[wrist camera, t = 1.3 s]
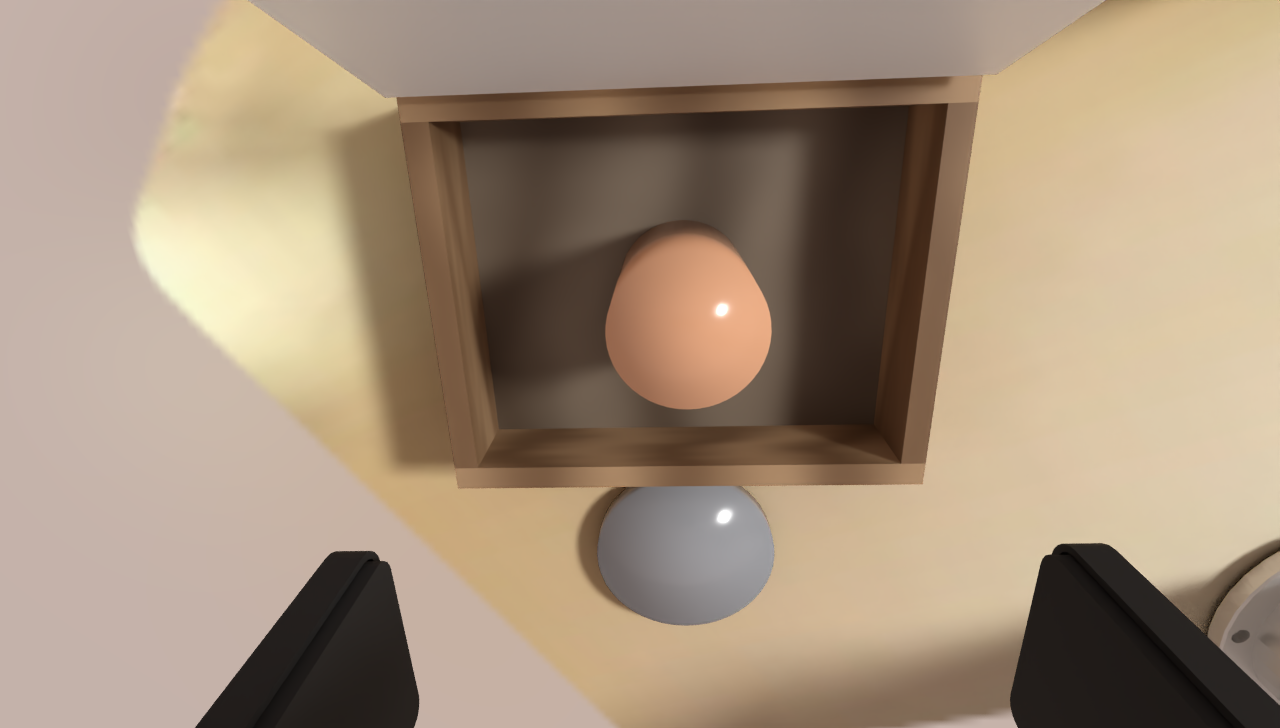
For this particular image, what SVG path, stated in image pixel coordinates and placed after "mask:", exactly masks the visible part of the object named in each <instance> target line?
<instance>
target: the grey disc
mask: <svg viewBox="0 0 1280 728" xmlns="http://www.w3.org/2000/svg"><path fill="white" fill-rule="evenodd" d="M597 557H598V564H599V568H600V571H601V574H602V577H603V579H604V581H605V583H606V585H607V586H608V588H609V589H610V591H611V592H612V593H613V594H614V595H615V596H616V598H617V599H618V600H619V601H621V602H622V603H623V604H624V605H625V606H627V607H628V608H629V609H631V610H632V611H634V612H636V613H638V614H640V615H642V616H643V617H646V618H649V619H651V620H654V621H658V622H661V623H666V624H672V625H700V624H706V623H711V622H714V621H718V620H721V619H723V618H726V617H728V616H730V615H732V614H734V613H736V612H738V611H740V610H741V609H742V608H744V607H745V606H747V605H748V604H749V603H750V602H751V601H752V600H754V599H755V597H756V596H757V595H758V594H759V593H760V592H761V590H762V589H763V587H764V586H765V584H766V583H767V580H768V578H769V576H770V574H771V570H772V567H773V561H774V544H773V539H772V534H771V530H770V527H769V523H768V520H767V518H766V515H765V513H764V511H763V510H762V508H761V506H760V505H759V504H758V502H757V501H756V500H755V498H754V497H753V496H752V495H751V494H750V493H749V492H748V491H746V490H745V489H744V488H742V487H741V486H666V487H628V488H626V489H625V490H624V491H623V492H621V493H620V495H619V496H618V497H617V498H616V499H615V500H614V501H613V503H612V504H611V505H610V507H609V508H608V510H607V512H606V514H605V516H604V518H603V521H602V524H601V529H600V535H599V541H598V553H597Z"/></svg>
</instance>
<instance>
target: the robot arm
mask: <svg viewBox="0 0 1280 728" xmlns="http://www.w3.org/2000/svg"><path fill="white" fill-rule="evenodd" d="M1010 704H1011V710H1012V714H1013V717H1014V720H1015V722H1016V725H1017V727H1018V728H1280V551H1278V552H1277V553H1275V554H1273V555H1271V556H1270V557H1268V558H1266V559H1265V560H1263V561H1262V562H1261V563H1260V564H1258V565H1257V566H1256V567H1254V568H1253V569H1252V570H1251V571H1249V572H1248V573H1247V574H1245V575H1244V576H1243V577H1242V578H1241V580H1240V581H1239V582H1238V583H1237V584H1236V585H1235V586H1234V587H1233V588H1232V589H1231V590H1230V591H1229V592H1228V594H1227V595H1226V597H1225V598H1224V599H1223V601H1222V602H1221V604H1220V605H1219V607H1218V608H1217V610H1216V612H1215V615H1214V617H1213V619H1212V622H1211V624H1210V626H1209V630H1208V636H1206V635H1205V634H1204V633H1203V632H1202V631H1201V630H1200V629H1199V628H1198V627H1197V626H1196V625H1194V624H1193V623H1192V622H1191V621H1190V620H1189V619H1188V618H1187V617H1186V616H1185V615H1184V614H1183V613H1182V612H1181V611H1180V610H1179V609H1178V608H1177V607H1175V606H1174V605H1173V604H1172V603H1171V602H1170V601H1169V600H1168V599H1167V598H1166V597H1165V596H1164V595H1163V594H1162V593H1161V592H1160V591H1159V590H1158V589H1156V588H1155V587H1154V586H1153V585H1152V584H1151V583H1150V582H1149V581H1148V580H1147V579H1146V578H1145V577H1144V576H1143V575H1142V574H1141V573H1140V572H1139V571H1137V570H1136V569H1135V568H1134V567H1133V566H1132V565H1131V564H1130V563H1129V562H1128V561H1127V560H1126V559H1125V558H1124V557H1123V556H1122V555H1121V554H1120V553H1118V552H1117V551H1116V550H1115V549H1114V548H1112V547H1111V546H1110V545H1107V544H1103V543H1093V544H1060V545H1058V546H1057V547H1056V548H1055V549H1054V550H1053V553H1052V555H1046V556H1045V557H1044V558H1043V559H1042V562H1041V565H1040V569H1039V574H1038V578H1037V582H1036V587H1035V591H1034V595H1033V600H1032V604H1031V608H1030V613H1029V617H1028V621H1027V626H1026V630H1025V634H1024V639H1023V643H1022V648H1021V652H1020V656H1019V661H1018V665H1017V669H1016V674H1015V678H1014V682H1013V687H1012V691H1011V697H1010ZM418 710H419V694H418V690H417V685H416V681H415V677H414V672H413V667H412V663H411V658H410V654H409V649H408V644H407V640H406V635H405V631H404V627H403V622H402V617H401V613H400V609H399V604H398V599H397V595H396V590H395V585H394V581H393V576H392V572H391V568H390V565H389V564H388V563H387V562H385V561H380V560H379V557H378V555H377V554H376V553H375V552H372V551H340V552H338V551H336V552H333V553H331V554H330V555H329V556H328V557H327V558H326V559H325V560H324V562H323V563H322V564H321V565H320V567H319V568H318V569H317V570H316V572H315V573H314V574H313V576H312V577H311V578H310V579H309V581H308V582H307V583H306V585H305V586H304V587H303V589H302V590H301V591H300V592H299V594H298V595H297V596H296V598H295V599H294V600H293V602H292V603H291V604H290V605H289V607H288V608H287V609H286V611H285V612H284V613H283V614H282V616H281V617H280V618H279V620H278V621H277V622H276V623H275V625H274V626H273V627H272V629H271V630H270V631H269V633H268V634H267V635H266V636H265V638H264V639H263V640H262V642H261V643H260V644H259V645H258V647H257V648H256V649H255V651H254V652H253V653H252V655H251V656H250V657H249V658H248V660H247V661H246V662H245V664H244V665H243V666H242V668H241V669H240V670H239V671H238V673H237V674H236V675H235V677H234V678H233V679H232V680H231V682H230V683H229V684H228V686H227V687H226V688H225V690H224V691H223V692H222V693H221V695H220V696H219V697H218V699H217V700H216V701H215V702H214V704H213V705H212V706H211V708H210V709H209V710H208V712H207V713H206V714H205V715H204V717H203V718H202V719H201V721H200V722H199V723H198V724H197V726H196V727H195V728H414V726H415V723H416V720H417V716H418Z"/></svg>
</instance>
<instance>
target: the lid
mask: <svg viewBox="0 0 1280 728" xmlns="http://www.w3.org/2000/svg"><path fill="white" fill-rule="evenodd" d="M248 1H250V2H251V3H252V4H254V5H255V6H257V7H258V8H259V9H261V10H262V11H264V12H265V13H266V14H268V15H269V16H271V17H272V18H274V19H275V20H276V21H278V22H279V23H281V24H282V25H283V26H285V27H286V28H288V29H289V30H290V31H292V32H293V33H295V34H296V35H298V36H299V37H300V38H302V39H303V40H305V41H306V42H307V43H309V44H310V45H312V46H313V47H314V48H316V49H317V50H319V51H320V52H322V53H323V54H324V55H326V56H327V57H329V58H330V59H331V60H333V61H334V62H336V63H337V64H338V65H340V66H341V67H343V68H344V69H345V70H347V71H348V72H350V73H351V74H353V75H354V76H355V77H357V78H358V79H360V80H361V81H362V82H364V83H365V84H367V85H368V86H369V87H371V88H372V89H374V90H375V91H377V92H378V93H379V94H381V95H382V96H384V97H385V98H390V97H417V96H443V95H469V94H496V93H522V92H548V91H575V90H601V89H627V88H654V87H680V86H707V85H733V84H759V83H786V82H812V81H838V80H865V79H891V78H917V77H944V76H970V75H996V74H998V73H999V72H1001V71H1002V70H1004V69H1005V68H1007V67H1008V66H1010V65H1011V64H1013V63H1014V62H1016V61H1017V60H1019V59H1020V58H1021V57H1023V56H1024V55H1026V54H1027V53H1029V52H1030V51H1032V50H1033V49H1035V48H1036V47H1038V46H1039V45H1041V44H1042V43H1044V42H1045V41H1047V40H1048V39H1049V38H1051V37H1052V36H1054V35H1055V34H1057V33H1058V32H1060V31H1061V30H1063V29H1064V28H1066V27H1067V26H1069V25H1070V24H1072V23H1073V22H1074V21H1076V20H1077V19H1079V18H1080V17H1082V16H1083V15H1085V14H1086V13H1088V12H1089V11H1091V10H1092V9H1094V8H1095V7H1097V6H1098V5H1100V4H1101V3H1102V2H1104V1H1105V0H248Z"/></svg>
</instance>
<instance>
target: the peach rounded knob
mask: <svg viewBox="0 0 1280 728" xmlns="http://www.w3.org/2000/svg"><path fill="white" fill-rule="evenodd" d="M771 333H772V330H771V317H770V312H769V308H768V305H767V302H766V300H765V298H764V296H763V294H762V292H761V290H760V288H759V286H758V285H757V283H756V281H755V279H754V278H753V276H752V274H751V272H750V271H749V269H748V267H747V265H746V264H745V262H744V260H743V258H742V257H741V255H740V253H739V251H738V250H737V248H736V247H735V245H734V244H733V243H732V242H731V241H730V239H729V238H728V237H726V236H725V235H724V234H723V233H722V232H720V231H719V230H717V229H716V228H714V227H712V226H709V225H707V224H704V223H701V222H697V221H691V220H677V221H670V222H666V223H663V224H660V225H658V226H655V227H654V228H652V229H650V230H648V231H647V232H645V233H644V234H643V235H642V236H640V237H639V238H638V239H637V240H636V241H635V243H634V244H633V245H632V246H631V248H630V249H629V251H628V252H627V254H626V256H625V258H624V261H623V263H622V267H621V270H620V273H619V277H618V280H617V283H616V287H615V290H614V294H613V297H612V300H611V304H610V307H609V310H608V314H607V319H606V326H605V337H606V345H607V349H608V353H609V356H610V359H611V361H612V364H613V366H614V367H615V369H616V371H617V373H618V374H619V376H620V377H621V378H622V379H623V381H624V382H625V383H626V384H627V385H628V386H629V387H630V388H631V389H632V390H634V391H635V392H636V393H637V394H639V395H640V396H642V397H644V398H645V399H647V400H649V401H651V402H653V403H656V404H658V405H662V406H665V407H669V408H675V409H700V408H705V407H710V406H713V405H716V404H719V403H721V402H723V401H726V400H728V399H730V398H731V397H733V396H734V395H736V394H738V393H739V392H740V391H741V390H743V389H744V388H745V387H746V386H747V385H748V384H749V383H750V382H751V381H752V380H753V379H754V377H755V376H756V375H757V373H758V372H759V370H760V369H761V367H762V365H763V363H764V361H765V359H766V356H767V354H768V350H769V346H770V342H771Z"/></svg>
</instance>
